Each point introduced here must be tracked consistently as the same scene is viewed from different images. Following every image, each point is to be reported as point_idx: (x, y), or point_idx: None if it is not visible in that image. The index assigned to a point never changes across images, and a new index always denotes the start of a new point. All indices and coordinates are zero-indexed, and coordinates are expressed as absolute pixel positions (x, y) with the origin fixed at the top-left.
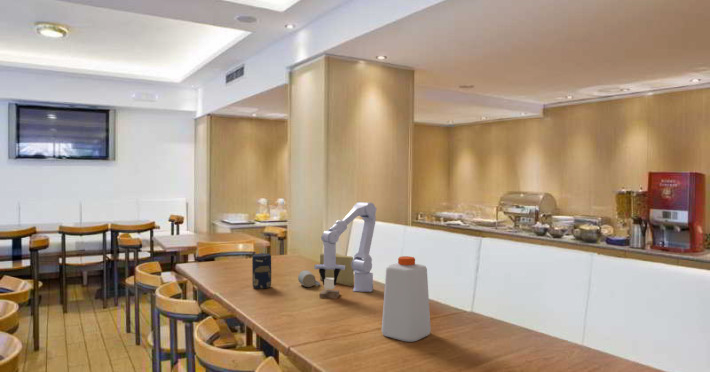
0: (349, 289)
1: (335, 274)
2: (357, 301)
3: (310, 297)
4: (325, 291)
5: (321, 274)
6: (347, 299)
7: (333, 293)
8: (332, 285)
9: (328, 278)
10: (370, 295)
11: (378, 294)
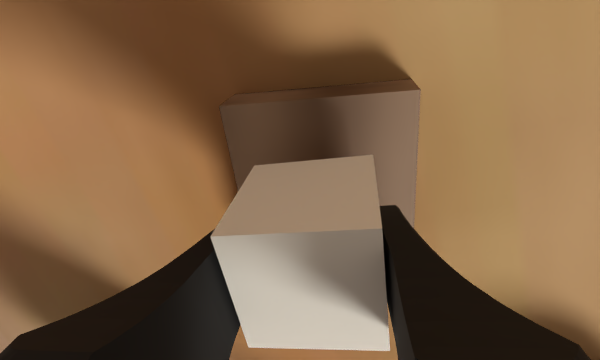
0: (244, 353)
1: (123, 311)
2: (16, 45)
3: (523, 72)
4: None
5: (471, 306)
6: (128, 93)
7: (259, 130)
8: (255, 186)
9: (328, 305)
10: (46, 243)
11: (20, 271)
